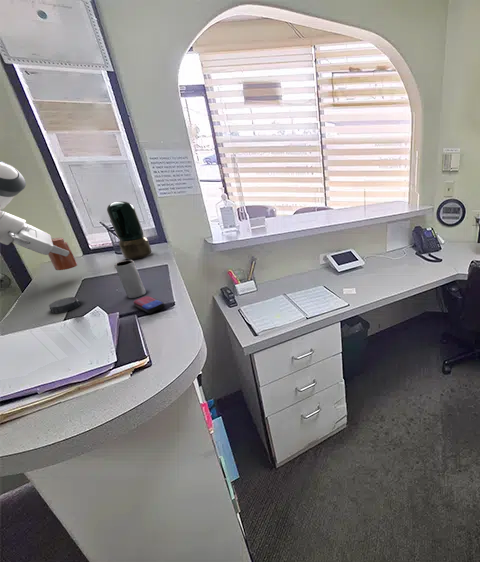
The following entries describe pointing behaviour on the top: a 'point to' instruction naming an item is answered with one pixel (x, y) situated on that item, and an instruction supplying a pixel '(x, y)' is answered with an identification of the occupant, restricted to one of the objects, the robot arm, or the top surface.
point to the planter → (130, 278)
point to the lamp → (128, 230)
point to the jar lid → (64, 305)
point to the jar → (60, 260)
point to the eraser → (148, 304)
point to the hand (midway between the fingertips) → (67, 251)
